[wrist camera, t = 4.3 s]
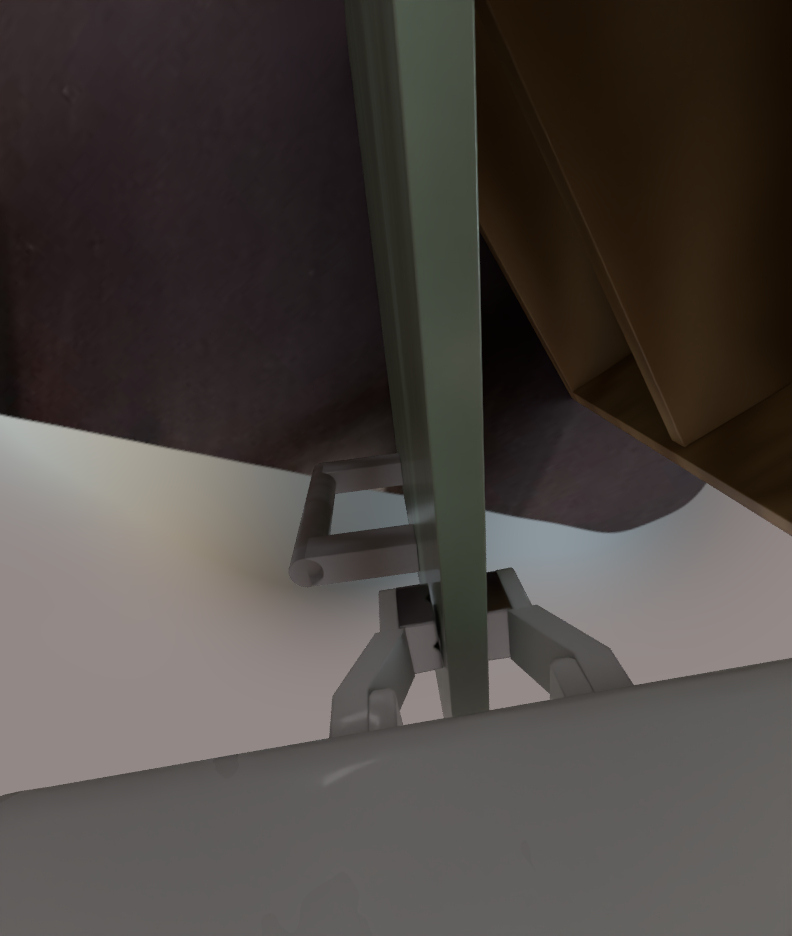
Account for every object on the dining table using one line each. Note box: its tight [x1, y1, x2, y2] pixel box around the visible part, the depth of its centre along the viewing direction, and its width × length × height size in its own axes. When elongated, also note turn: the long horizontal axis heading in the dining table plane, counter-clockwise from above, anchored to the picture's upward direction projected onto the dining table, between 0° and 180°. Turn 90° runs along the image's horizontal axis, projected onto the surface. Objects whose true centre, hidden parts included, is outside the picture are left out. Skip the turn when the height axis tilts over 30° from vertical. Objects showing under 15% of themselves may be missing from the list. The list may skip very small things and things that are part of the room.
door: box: [289, 0, 489, 718], centre depth 18 cm, size 7×26×24 cm, turn 6°
